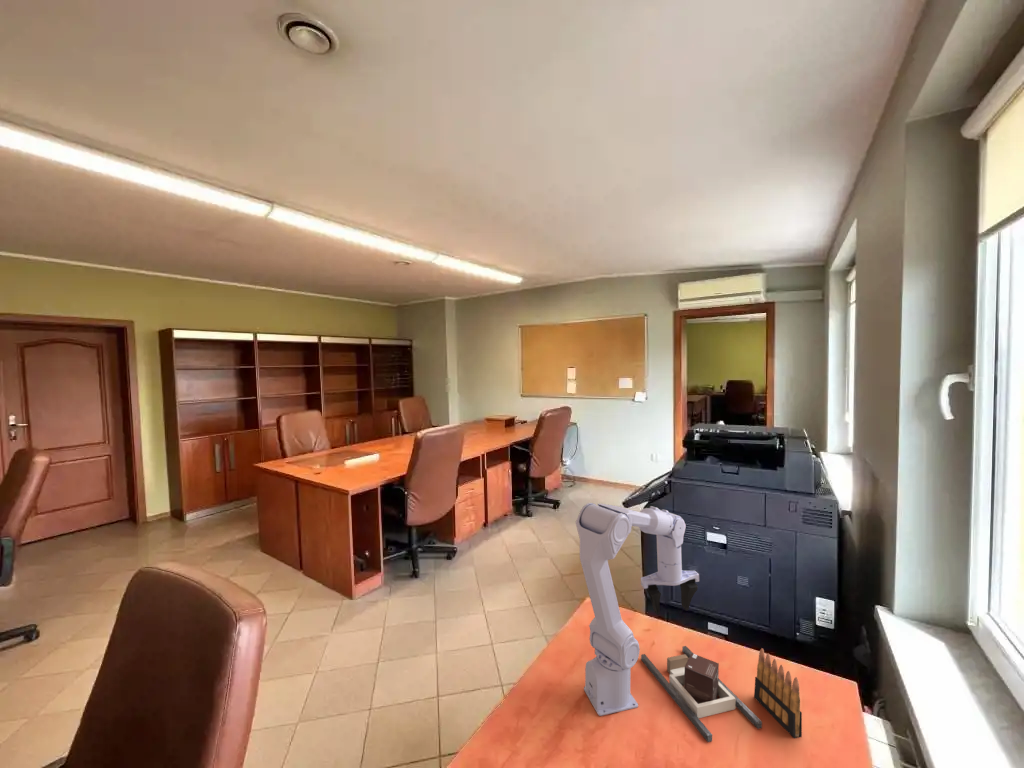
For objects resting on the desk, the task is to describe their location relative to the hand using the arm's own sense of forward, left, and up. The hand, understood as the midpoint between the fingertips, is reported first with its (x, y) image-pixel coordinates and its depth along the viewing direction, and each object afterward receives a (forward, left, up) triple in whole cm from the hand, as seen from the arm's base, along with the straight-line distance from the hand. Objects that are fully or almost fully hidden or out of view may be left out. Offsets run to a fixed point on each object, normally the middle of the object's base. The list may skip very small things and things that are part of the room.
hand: (670, 610), depth 108 cm
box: (-2, -14, -12) cm, 18 cm away
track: (-2, -12, -12) cm, 17 cm away
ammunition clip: (+10, -22, -12) cm, 27 cm away
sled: (-2, -11, -12) cm, 17 cm away
